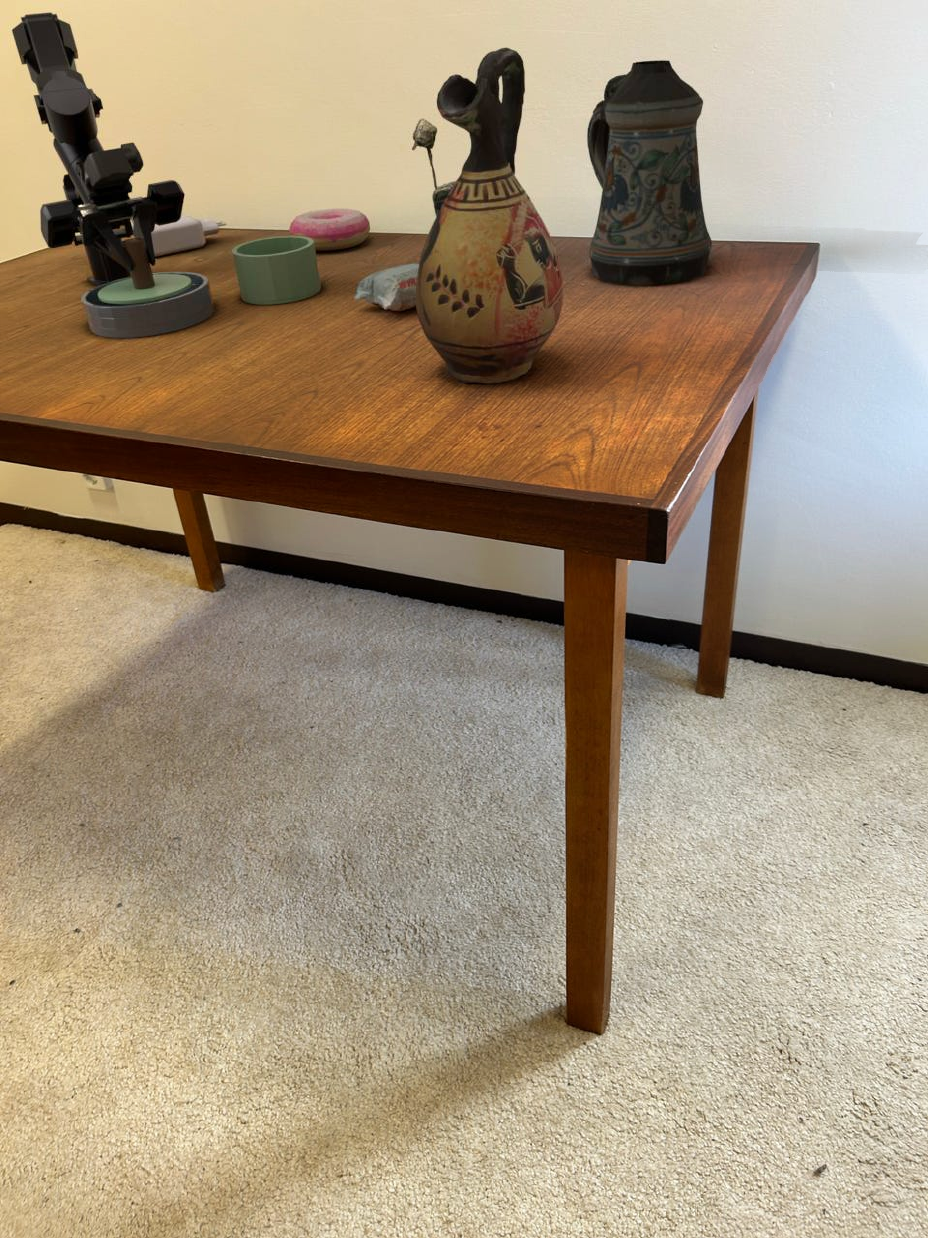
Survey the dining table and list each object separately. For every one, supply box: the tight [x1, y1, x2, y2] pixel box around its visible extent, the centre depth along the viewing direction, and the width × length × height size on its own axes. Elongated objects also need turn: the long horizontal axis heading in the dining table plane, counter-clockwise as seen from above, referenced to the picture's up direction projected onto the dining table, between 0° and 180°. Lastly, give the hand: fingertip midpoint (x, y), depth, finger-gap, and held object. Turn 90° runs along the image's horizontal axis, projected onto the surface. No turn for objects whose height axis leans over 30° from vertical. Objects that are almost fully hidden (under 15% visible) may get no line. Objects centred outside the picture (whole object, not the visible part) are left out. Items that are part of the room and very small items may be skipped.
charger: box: [131, 213, 227, 258], centre depth 165 cm, size 5×9×15 cm
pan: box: [80, 271, 215, 339], centre depth 129 cm, size 17×17×4 cm
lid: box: [98, 237, 192, 305], centre depth 126 cm, size 12×12×7 cm
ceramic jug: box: [415, 47, 564, 384], centre depth 95 cm, size 17×15×30 cm
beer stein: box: [586, 59, 713, 287], centre depth 125 cm, size 16×19×25 cm
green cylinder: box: [231, 235, 322, 306], centre depth 134 cm, size 11×11×6 cm
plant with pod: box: [411, 118, 456, 218], centre depth 135 cm, size 8×11×20 cm
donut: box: [288, 207, 371, 252], centre depth 157 cm, size 14×13×5 cm
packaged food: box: [354, 262, 419, 312], centre depth 124 cm, size 9×12×5 cm
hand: (142, 266), depth 125 cm, fingers closed on lid, 3 cm apart
